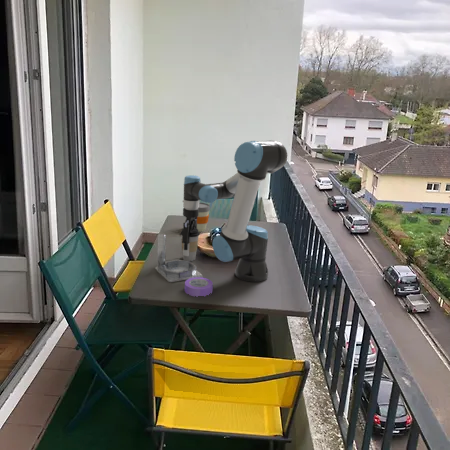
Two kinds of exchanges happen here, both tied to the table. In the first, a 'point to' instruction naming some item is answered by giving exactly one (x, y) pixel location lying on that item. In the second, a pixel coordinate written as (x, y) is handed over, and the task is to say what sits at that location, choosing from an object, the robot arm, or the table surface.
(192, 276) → the ring base with post
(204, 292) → the masking tape
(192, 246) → the coffee cup
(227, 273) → the table surface
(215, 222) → the table surface
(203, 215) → the reusable coffee cup
